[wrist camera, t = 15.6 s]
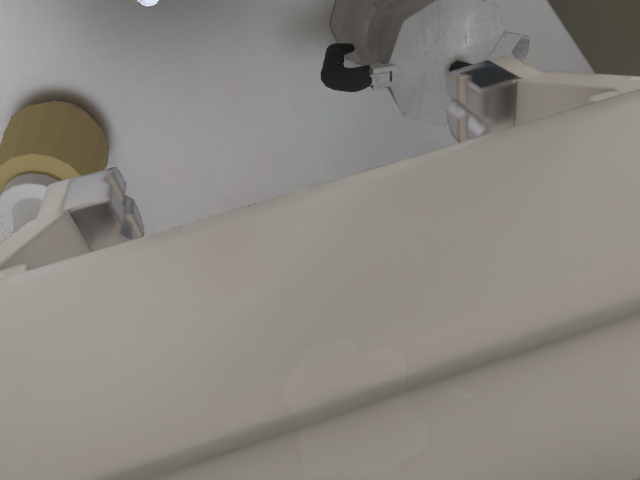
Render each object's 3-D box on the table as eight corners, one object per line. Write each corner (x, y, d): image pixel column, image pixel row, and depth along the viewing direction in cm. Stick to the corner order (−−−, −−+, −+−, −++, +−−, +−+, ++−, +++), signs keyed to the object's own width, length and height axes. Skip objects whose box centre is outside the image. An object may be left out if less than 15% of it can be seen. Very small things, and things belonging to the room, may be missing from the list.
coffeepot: (445, -52, 47) (573, -17, 32) (441, 55, 52) (547, 124, 38) (277, -27, 44) (334, 22, 30) (291, 82, 50) (344, 167, 36)
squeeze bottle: (105, 86, 46) (82, 183, 32) (117, 169, 50) (102, 287, 36) (2, 87, 44) (-72, 190, 30) (24, 173, 48) (-30, 299, 34)
